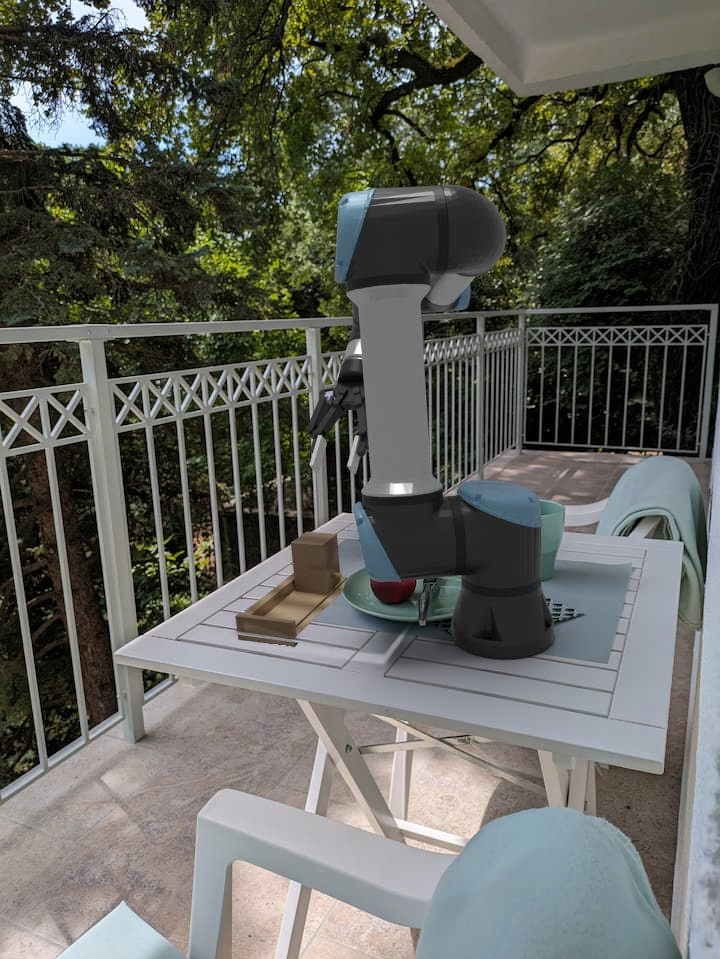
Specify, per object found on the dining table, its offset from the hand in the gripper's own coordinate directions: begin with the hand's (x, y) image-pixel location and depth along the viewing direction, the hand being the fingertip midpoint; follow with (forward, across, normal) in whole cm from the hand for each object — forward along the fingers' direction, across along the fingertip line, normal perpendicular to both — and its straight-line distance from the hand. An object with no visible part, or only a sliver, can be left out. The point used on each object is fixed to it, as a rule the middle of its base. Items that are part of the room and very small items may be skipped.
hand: (332, 469), depth 133 cm
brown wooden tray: (+26, 0, -3) cm, 26 cm away
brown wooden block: (+20, 0, -7) cm, 21 cm away
